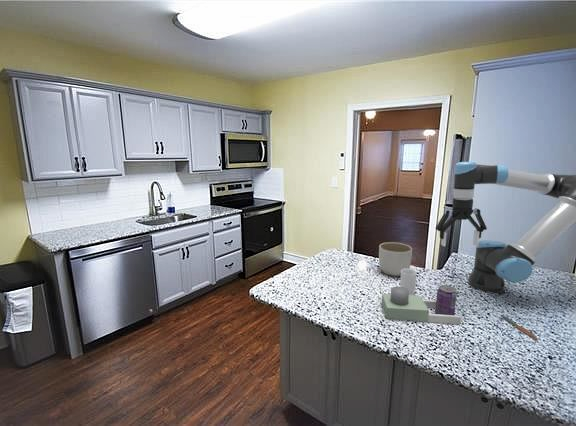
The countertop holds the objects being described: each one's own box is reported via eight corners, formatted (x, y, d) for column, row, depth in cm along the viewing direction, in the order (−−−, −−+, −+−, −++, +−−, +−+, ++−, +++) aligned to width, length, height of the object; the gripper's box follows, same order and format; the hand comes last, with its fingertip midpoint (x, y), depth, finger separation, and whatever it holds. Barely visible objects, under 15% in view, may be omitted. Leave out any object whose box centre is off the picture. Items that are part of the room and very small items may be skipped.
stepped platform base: (448, 307, 124) (450, 286, 122) (460, 324, 113) (463, 301, 110) (381, 303, 129) (382, 282, 127) (386, 319, 117) (387, 296, 115)
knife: (495, 313, 118) (501, 313, 118) (494, 315, 118) (501, 315, 119) (533, 339, 102) (540, 338, 102) (532, 341, 102) (540, 341, 102)
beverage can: (452, 311, 121) (455, 285, 119) (455, 321, 115) (459, 293, 112) (433, 309, 124) (436, 283, 121) (436, 318, 117) (439, 291, 114)
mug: (416, 299, 132) (418, 274, 129) (401, 298, 133) (403, 274, 130) (410, 288, 142) (412, 266, 139) (396, 288, 143) (397, 265, 140)
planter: (383, 264, 172) (384, 240, 169) (413, 270, 162) (415, 245, 159) (373, 274, 159) (374, 248, 155) (405, 282, 149) (407, 254, 146)
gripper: (489, 195, 125) (484, 242, 129) (429, 197, 128) (426, 243, 132) (499, 198, 118) (494, 247, 122) (435, 200, 121) (433, 248, 125)
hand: (459, 245), depth 127 cm, fingers open, 13 cm apart
